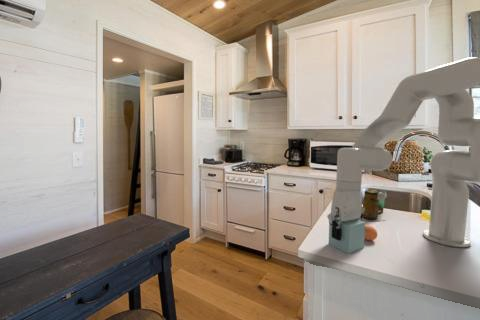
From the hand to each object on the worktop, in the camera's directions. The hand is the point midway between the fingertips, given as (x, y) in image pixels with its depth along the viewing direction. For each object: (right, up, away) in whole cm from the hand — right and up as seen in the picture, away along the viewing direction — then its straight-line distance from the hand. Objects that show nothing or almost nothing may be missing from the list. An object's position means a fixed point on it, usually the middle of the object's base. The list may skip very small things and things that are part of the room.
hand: (345, 235), depth 78 cm
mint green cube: (0, -3, 0) cm, 4 cm away
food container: (+32, 0, +36) cm, 48 cm away
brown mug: (+23, -1, +27) cm, 35 cm away
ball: (+10, 0, +4) cm, 11 cm away
